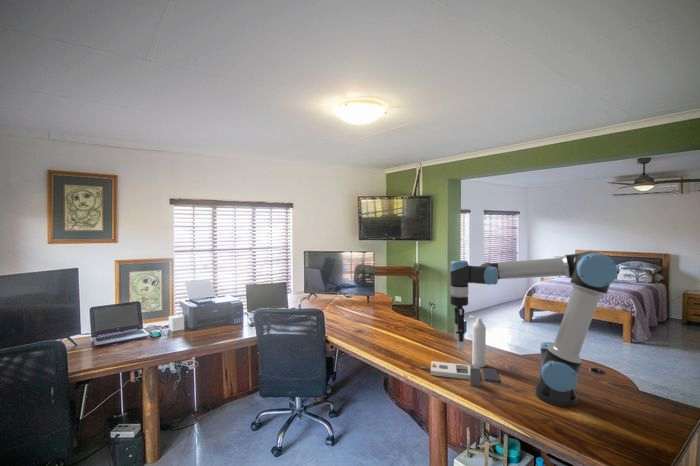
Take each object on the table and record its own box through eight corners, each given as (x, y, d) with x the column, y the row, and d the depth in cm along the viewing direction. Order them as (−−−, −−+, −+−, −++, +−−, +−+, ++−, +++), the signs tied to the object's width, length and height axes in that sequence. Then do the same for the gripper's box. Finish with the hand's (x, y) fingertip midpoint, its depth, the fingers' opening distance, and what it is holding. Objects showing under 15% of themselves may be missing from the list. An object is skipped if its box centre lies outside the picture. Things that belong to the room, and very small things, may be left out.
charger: (478, 382, 157) (479, 365, 157) (479, 386, 154) (480, 368, 153) (469, 381, 158) (470, 364, 158) (470, 385, 155) (470, 367, 154)
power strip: (476, 370, 171) (476, 364, 171) (478, 380, 159) (478, 374, 159) (420, 364, 178) (420, 358, 178) (419, 373, 167) (419, 367, 166)
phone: (495, 372, 169) (495, 369, 169) (499, 383, 158) (499, 379, 158) (481, 371, 171) (481, 367, 171) (484, 381, 160) (484, 378, 160)
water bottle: (487, 365, 177) (488, 317, 177) (481, 368, 173) (482, 320, 172) (471, 360, 184) (472, 314, 183) (465, 363, 179) (466, 316, 179)
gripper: (448, 290, 162) (448, 334, 163) (452, 301, 138) (452, 352, 138) (465, 290, 161) (465, 335, 161) (471, 301, 136) (471, 354, 137)
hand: (459, 343), depth 150 cm, fingers open, 13 cm apart
